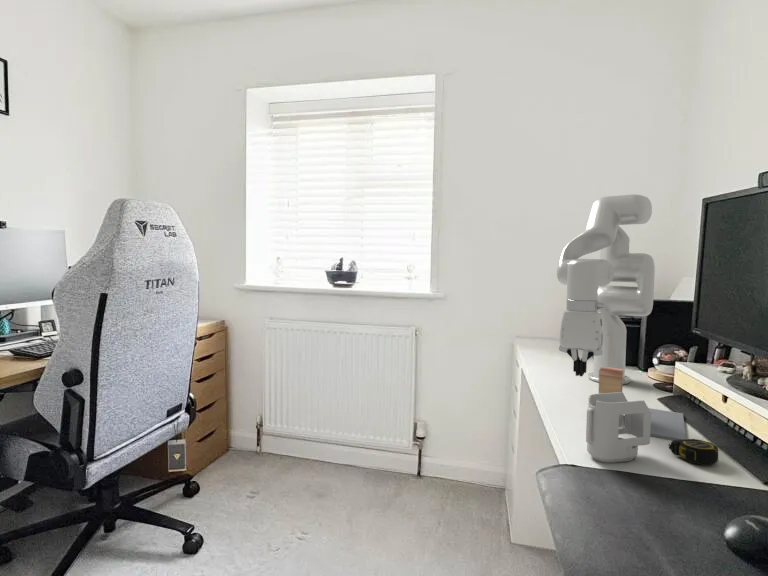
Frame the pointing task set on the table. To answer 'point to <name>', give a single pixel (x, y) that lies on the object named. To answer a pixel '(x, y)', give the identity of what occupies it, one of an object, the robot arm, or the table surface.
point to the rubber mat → (667, 425)
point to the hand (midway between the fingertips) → (579, 374)
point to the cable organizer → (616, 427)
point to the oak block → (610, 380)
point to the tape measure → (695, 451)
